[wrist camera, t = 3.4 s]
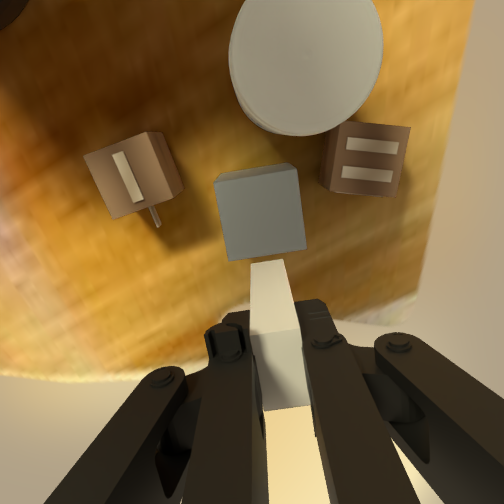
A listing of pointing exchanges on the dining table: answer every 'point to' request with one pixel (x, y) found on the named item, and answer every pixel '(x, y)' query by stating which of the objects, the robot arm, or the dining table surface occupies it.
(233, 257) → the plain block
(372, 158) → the marked cube right
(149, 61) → the dining table surface
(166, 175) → the marked cube left
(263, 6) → the supplement tub
